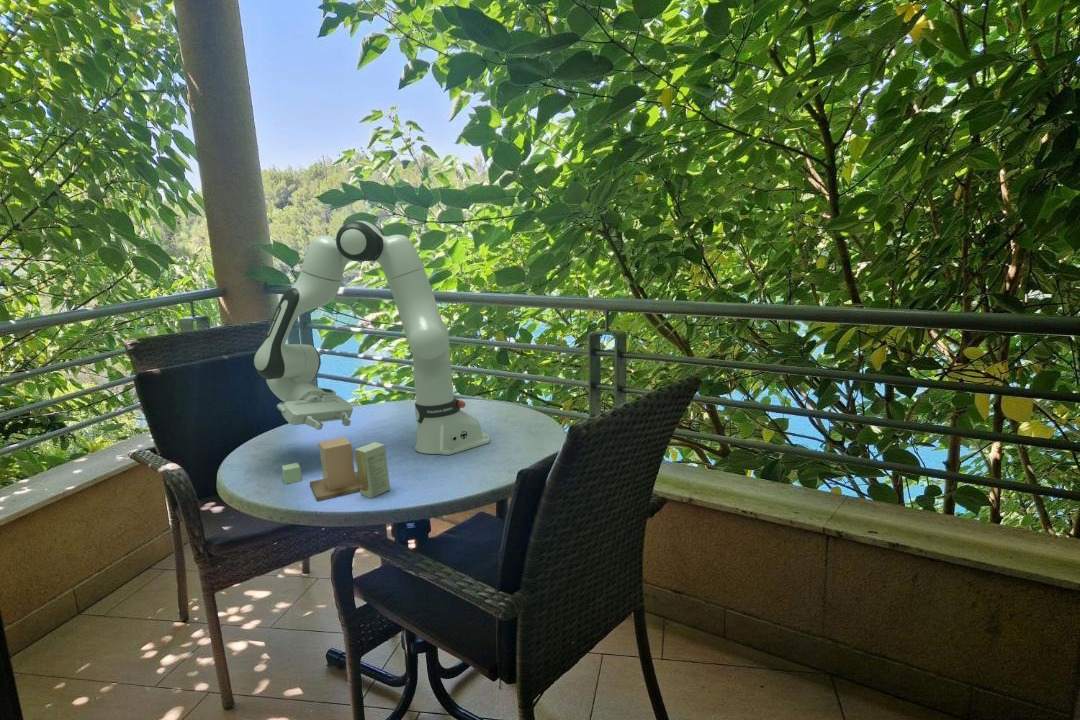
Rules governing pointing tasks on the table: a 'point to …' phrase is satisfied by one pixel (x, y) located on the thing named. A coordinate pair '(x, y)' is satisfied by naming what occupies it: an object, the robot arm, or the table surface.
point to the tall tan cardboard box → (337, 463)
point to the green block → (291, 473)
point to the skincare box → (372, 469)
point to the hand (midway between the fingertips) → (334, 425)
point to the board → (324, 493)
